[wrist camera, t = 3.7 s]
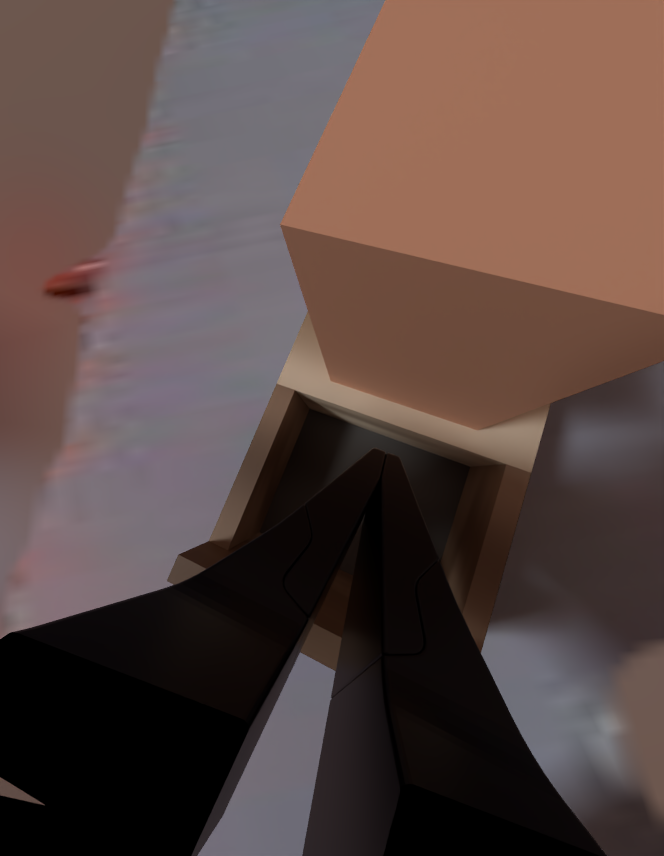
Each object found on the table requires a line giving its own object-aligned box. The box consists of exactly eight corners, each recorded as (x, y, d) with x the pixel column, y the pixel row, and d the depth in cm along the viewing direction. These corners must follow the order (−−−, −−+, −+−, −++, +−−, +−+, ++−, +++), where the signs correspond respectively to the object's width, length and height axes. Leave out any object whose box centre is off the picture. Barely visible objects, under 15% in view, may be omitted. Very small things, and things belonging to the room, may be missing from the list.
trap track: (436, 634, 14) (495, 756, 8) (239, 540, 16) (166, 580, 10) (594, 116, 18) (707, -58, 12) (425, 94, 20) (452, -64, 14)
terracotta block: (477, 430, 11) (739, 332, 4) (330, 381, 12) (280, 224, 5) (520, 294, 12) (806, -29, 4) (379, 259, 13) (406, -44, 6)
